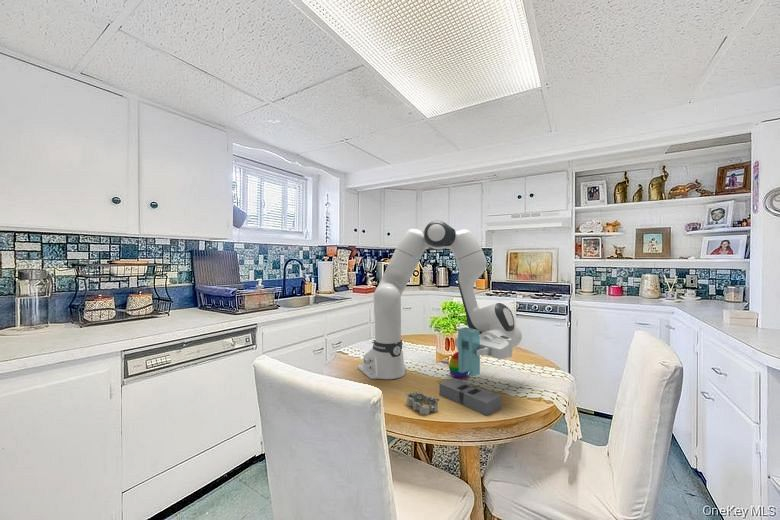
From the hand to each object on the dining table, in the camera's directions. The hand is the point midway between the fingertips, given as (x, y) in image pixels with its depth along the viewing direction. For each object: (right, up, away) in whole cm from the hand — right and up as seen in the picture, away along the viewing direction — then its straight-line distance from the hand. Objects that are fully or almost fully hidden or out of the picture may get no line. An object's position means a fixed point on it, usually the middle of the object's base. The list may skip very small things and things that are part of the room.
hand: (467, 350), depth 112 cm
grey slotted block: (+1, -18, +1) cm, 18 cm away
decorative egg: (+2, -17, +24) cm, 30 cm away
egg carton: (-16, -18, -3) cm, 25 cm away
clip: (+1, -8, +1) cm, 8 cm away
